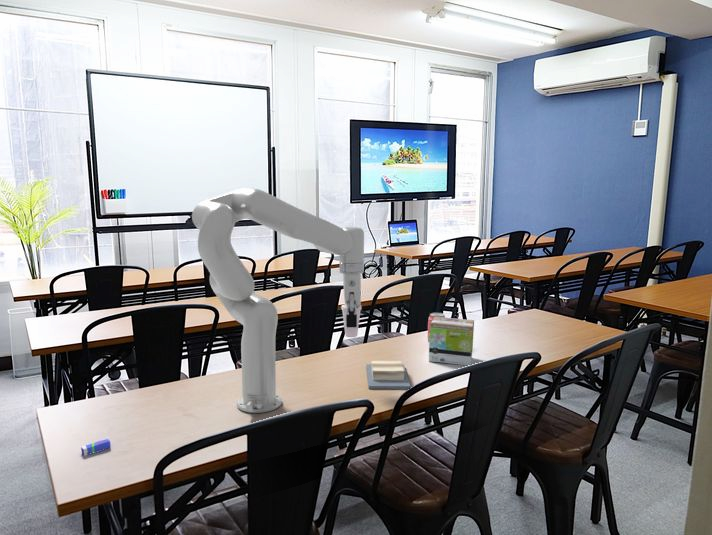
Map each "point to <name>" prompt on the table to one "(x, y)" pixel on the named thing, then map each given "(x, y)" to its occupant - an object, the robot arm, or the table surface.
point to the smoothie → (351, 330)
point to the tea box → (451, 340)
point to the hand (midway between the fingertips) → (351, 323)
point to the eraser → (95, 447)
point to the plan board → (387, 381)
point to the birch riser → (387, 370)
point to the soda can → (431, 321)
